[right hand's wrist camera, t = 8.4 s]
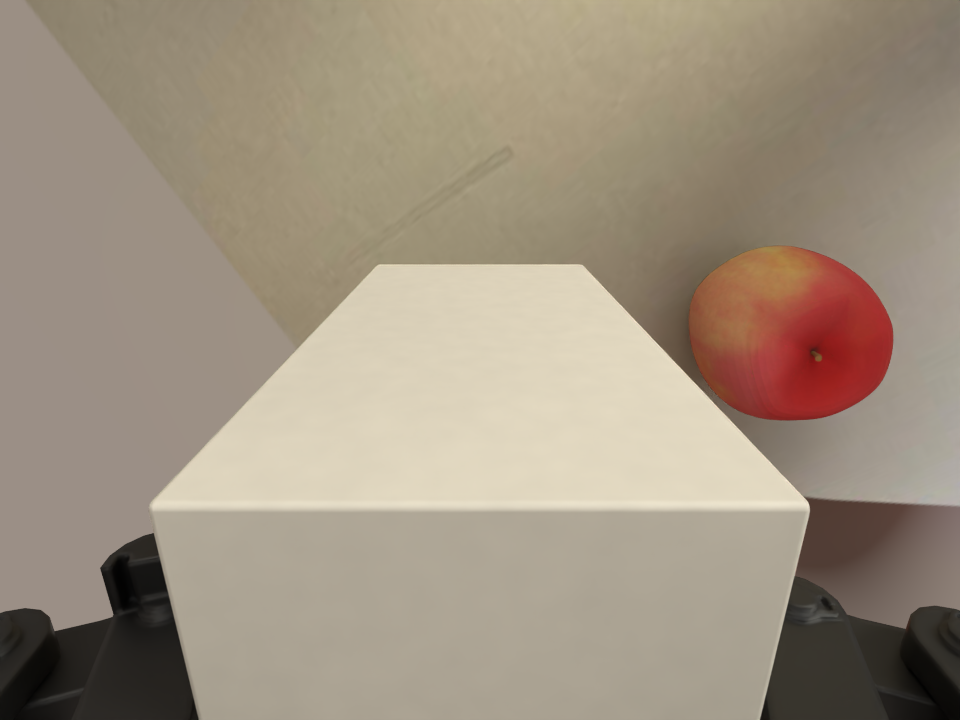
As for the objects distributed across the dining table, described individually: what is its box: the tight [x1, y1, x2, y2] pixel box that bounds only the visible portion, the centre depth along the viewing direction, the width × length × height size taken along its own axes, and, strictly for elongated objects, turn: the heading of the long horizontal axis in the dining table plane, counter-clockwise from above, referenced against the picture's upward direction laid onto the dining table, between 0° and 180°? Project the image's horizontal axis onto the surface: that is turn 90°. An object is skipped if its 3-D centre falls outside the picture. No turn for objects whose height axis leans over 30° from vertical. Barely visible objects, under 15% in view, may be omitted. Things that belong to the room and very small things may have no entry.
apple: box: [689, 246, 893, 420], centre depth 32 cm, size 10×10×10 cm
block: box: [149, 265, 810, 720], centre depth 12 cm, size 8×6×12 cm
